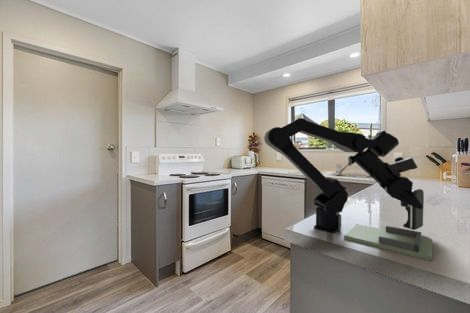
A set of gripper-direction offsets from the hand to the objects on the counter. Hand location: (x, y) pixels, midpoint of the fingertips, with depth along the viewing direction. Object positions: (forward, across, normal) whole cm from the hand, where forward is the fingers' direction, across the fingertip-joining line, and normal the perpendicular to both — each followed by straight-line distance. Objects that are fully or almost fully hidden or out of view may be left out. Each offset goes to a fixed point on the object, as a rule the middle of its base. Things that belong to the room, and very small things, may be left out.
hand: (417, 205), depth 62 cm
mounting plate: (0, -9, +12) cm, 15 cm away
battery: (+4, 0, +6) cm, 7 cm away
